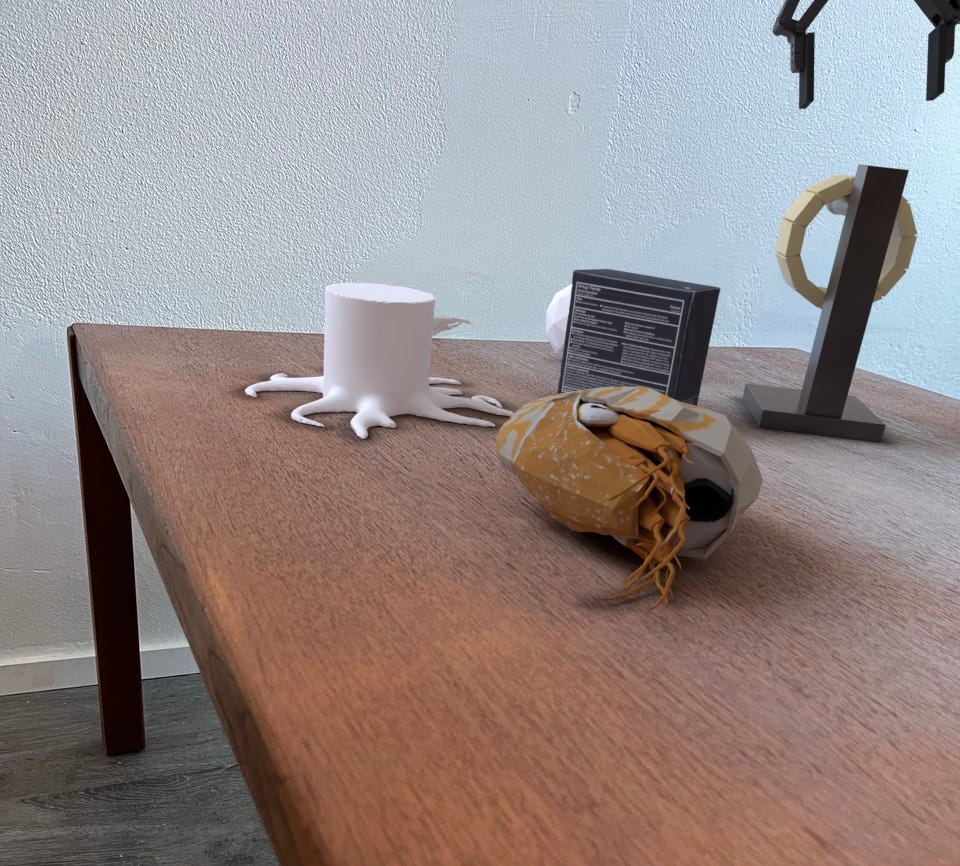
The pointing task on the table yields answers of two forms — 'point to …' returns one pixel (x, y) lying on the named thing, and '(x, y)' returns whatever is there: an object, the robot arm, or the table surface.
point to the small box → (637, 333)
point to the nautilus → (634, 471)
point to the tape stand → (840, 320)
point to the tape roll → (806, 212)
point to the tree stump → (380, 360)
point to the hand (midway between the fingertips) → (870, 101)
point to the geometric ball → (558, 319)
